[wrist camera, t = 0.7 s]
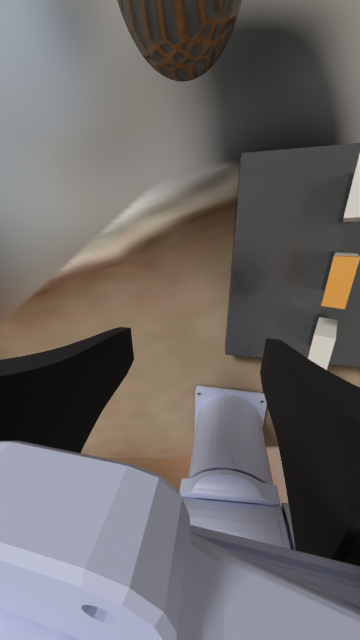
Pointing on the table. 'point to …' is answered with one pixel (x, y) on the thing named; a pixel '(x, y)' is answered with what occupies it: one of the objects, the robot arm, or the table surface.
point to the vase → (180, 33)
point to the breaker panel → (292, 250)
